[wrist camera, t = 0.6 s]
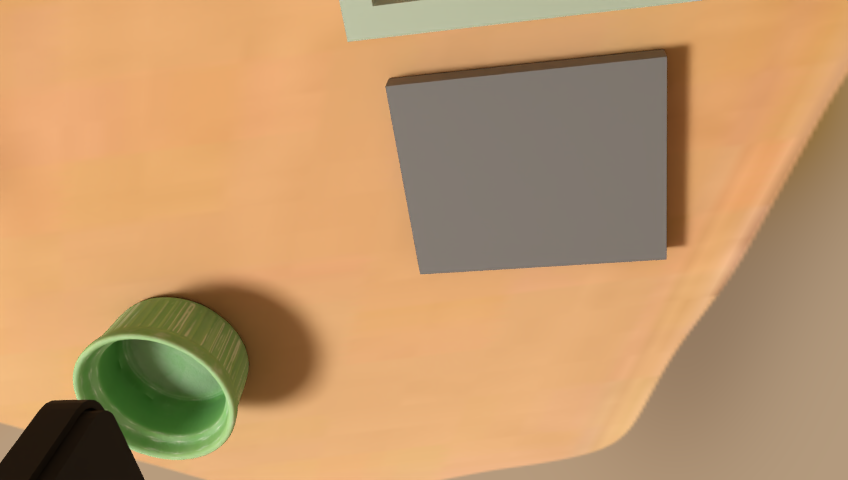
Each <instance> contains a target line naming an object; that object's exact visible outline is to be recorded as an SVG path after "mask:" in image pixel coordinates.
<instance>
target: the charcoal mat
mask: <svg viewBox="0 0 848 480" xmlns="http://www.w3.org/2000/svg"><path fill="white" fill-rule="evenodd" d="M385 87H386V92H387V98H388V103H389V108H390V114H391V119H392V125H393V130H394V135H395V141H396V146H397V151H398V157H399V162H400V168H401V173H402V178H403V184H404V189H405V195H406V200H407V205H408V211H409V216H410V222H411V227H412V232H413V238H414V243H415V249H416V254H417V259H418V265H419V270H420V274H433V273H450V272H466V271H483V270H499V269H516V268H532V267H549V266H566V265H582V264H599V263H615V262H632V261H648V260H665V259H666V258H667V56H666V53H665V51H664V49H660V50H651V51H642V52H632V53H623V54H614V55H604V56H595V57H586V58H576V59H567V60H558V61H548V62H539V63H530V64H520V65H511V66H502V67H492V68H483V69H474V70H464V71H455V72H446V73H437V74H427V75H418V76H409V77H399V78H390V79H389V80H388V82H387V84H386V86H385Z"/></svg>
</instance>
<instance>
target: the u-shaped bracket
mask: <svg viewBox="0 0 848 480" xmlns="http://www.w3.org/2000/svg"><path fill="white" fill-rule="evenodd" d="M339 1H340V6H341V11H342V16H343V21H344V26H345V31H346V36H347V41H348V42H350V41H359V40H367V39H376V38H385V37H393V36H402V35H410V34H419V33H427V32H436V31H444V30H453V29H461V28H470V27H478V26H487V25H495V24H504V23H513V22H521V21H530V20H538V19H547V18H555V17H564V16H572V15H581V14H589V13H598V12H606V11H615V10H623V9H632V8H641V7H649V6H658V5H666V4H675V3H683V2H692V1H700V0H339Z"/></svg>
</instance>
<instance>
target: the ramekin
mask: <svg viewBox="0 0 848 480" xmlns="http://www.w3.org/2000/svg"><path fill="white" fill-rule="evenodd" d="M248 366H249V362H248V355H247V352H246V348H245V346H244V344H243V342H242V340H241V338H240V337H239V335H238V333H237V332H236V331H235V330H234V328H233V327H232V326H231V325H230V324H229V323H228V322H227V321H226V320H224V319H223V318H222V317H221V316H219V315H218V314H217V313H215V312H214V311H212V310H210V309H209V308H207V307H205V306H203V305H201V304H199V303H196V302H193V301H189V300H186V299H181V298H173V297H158V298H151V299H147V300H144V301H142V302H139V303H137V304H135V305H133V306H132V307H130V308H129V309H127V310H126V311H125V312H124V313H123V314H122V315H121V316H120V317H119V318H118V319H117V320H116V321H115V322H114V324H113V325H112V326H111V327H110V328H109V329H108V330H107V331H106V332H105V333H104V334H103V335H102V336H101V337H99V338H98V339H96V340H95V341H93V342H92V343H91V344H90V345H89V346H88V347H87V348H86V349H85V350H84V351H83V352H82V353H81V355H80V356H79V358H78V360H77V362H76V364H75V367H74V372H73V385H74V391H75V394H76V397H77V400H96V401H97V402H99V403H100V404H101V405H102V407H103V408H104V410H107V411H110V412H111V413H112V414H113V415H114V417H115V418H116V421H117V423H118V425H119V427H120V429H121V431H122V433H123V435H124V437H125V439H126V442H127V444H128V446H129V448H130V449H131V450H134V451H136V452H138V453H141V454H145V455H148V456H152V457H156V458H162V459H170V460H185V459H193V458H197V457H201V456H204V455H207V454H209V453H211V452H213V451H215V450H216V449H218V448H219V447H220V446H222V445H223V444H224V443H225V442H226V440H227V439H228V438H229V436H230V435H231V433H232V431H233V428H234V426H235V422H236V417H237V411H238V404H239V401H240V398H241V395H242V392H243V389H244V386H245V383H246V380H247V375H248V369H249V367H248Z"/></svg>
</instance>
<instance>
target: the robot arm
mask: <svg viewBox="0 0 848 480" xmlns="http://www.w3.org/2000/svg"><path fill="white" fill-rule="evenodd" d="M0 480H144V477H143V475H142V474H141V471H140V469H139V467H138V465H137V463H136V461H135V458H134V456H133V454H132V452H131V450H130V448H129V446H128V444H127V442H126V439H125V437H124V435H123V433H122V431H121V429H120V427H119V425H118V423H117V421H116V418H115V417H114V415H113V414H112V413H111V412H110V411H107V410H104V408H103V407H102V405H101V404H100V403H99V402H97V401H96V400H56V401H50V402H48V403H46V404H45V405H44V406H43V407H42V408H41V409H40V410H39V412H38V413H37V414H36V416H35V417H34V418H33V420H32V421H31V422H30V424H29V425H28V426H27V428H26V429H25V430H24V432H23V433H22V434H21V436H20V437H19V439H18V440H17V441H16V443H15V444H14V445H13V447H12V448H11V449H10V451H9V452H8V453H7V455H6V456H5V457H4V459H3V460H2V462H1V463H0Z"/></svg>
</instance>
